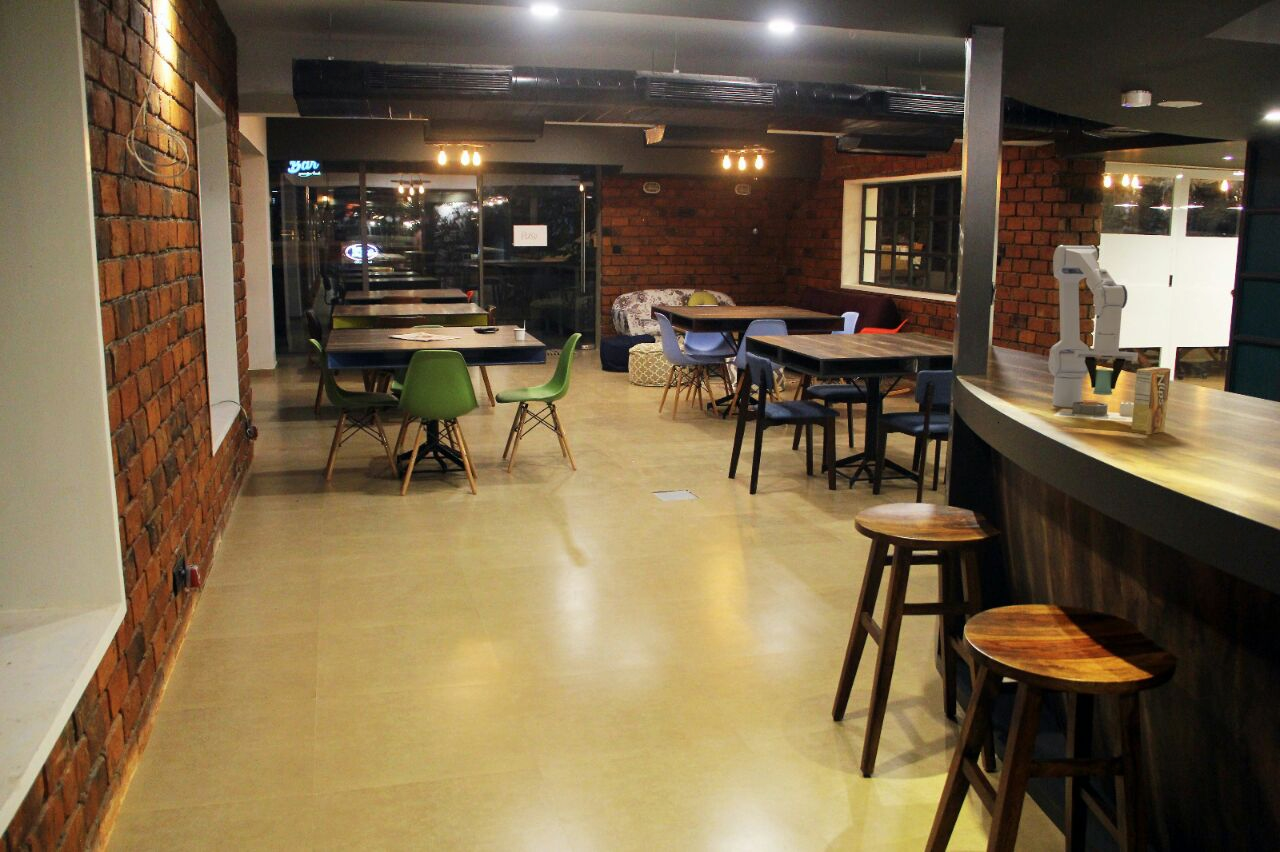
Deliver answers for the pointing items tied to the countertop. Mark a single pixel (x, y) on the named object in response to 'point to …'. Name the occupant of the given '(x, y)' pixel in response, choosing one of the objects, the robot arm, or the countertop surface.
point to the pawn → (1103, 382)
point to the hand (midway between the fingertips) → (1103, 388)
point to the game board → (1121, 414)
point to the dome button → (1090, 403)
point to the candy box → (1151, 399)
